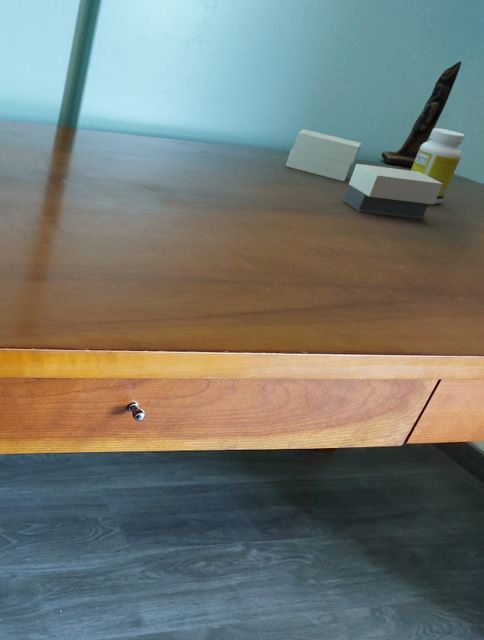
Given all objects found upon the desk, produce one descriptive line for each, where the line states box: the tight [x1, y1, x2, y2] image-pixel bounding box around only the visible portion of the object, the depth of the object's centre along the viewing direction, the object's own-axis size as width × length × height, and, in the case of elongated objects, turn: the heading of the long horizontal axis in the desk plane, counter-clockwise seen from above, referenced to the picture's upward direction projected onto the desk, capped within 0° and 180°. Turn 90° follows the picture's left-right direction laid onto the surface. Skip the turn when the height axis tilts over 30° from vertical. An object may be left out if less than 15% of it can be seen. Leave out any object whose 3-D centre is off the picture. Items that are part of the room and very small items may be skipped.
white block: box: [348, 163, 443, 205], centre depth 102 cm, size 10×6×3 cm, turn 96°
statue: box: [381, 60, 462, 168], centre depth 140 cm, size 4×7×20 cm, turn 85°
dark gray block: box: [343, 184, 429, 220], centre depth 104 cm, size 10×4×4 cm, turn 96°
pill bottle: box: [410, 127, 465, 205], centre depth 119 cm, size 6×6×11 cm
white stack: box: [285, 128, 363, 182], centre depth 126 cm, size 10×4×6 cm, turn 61°
